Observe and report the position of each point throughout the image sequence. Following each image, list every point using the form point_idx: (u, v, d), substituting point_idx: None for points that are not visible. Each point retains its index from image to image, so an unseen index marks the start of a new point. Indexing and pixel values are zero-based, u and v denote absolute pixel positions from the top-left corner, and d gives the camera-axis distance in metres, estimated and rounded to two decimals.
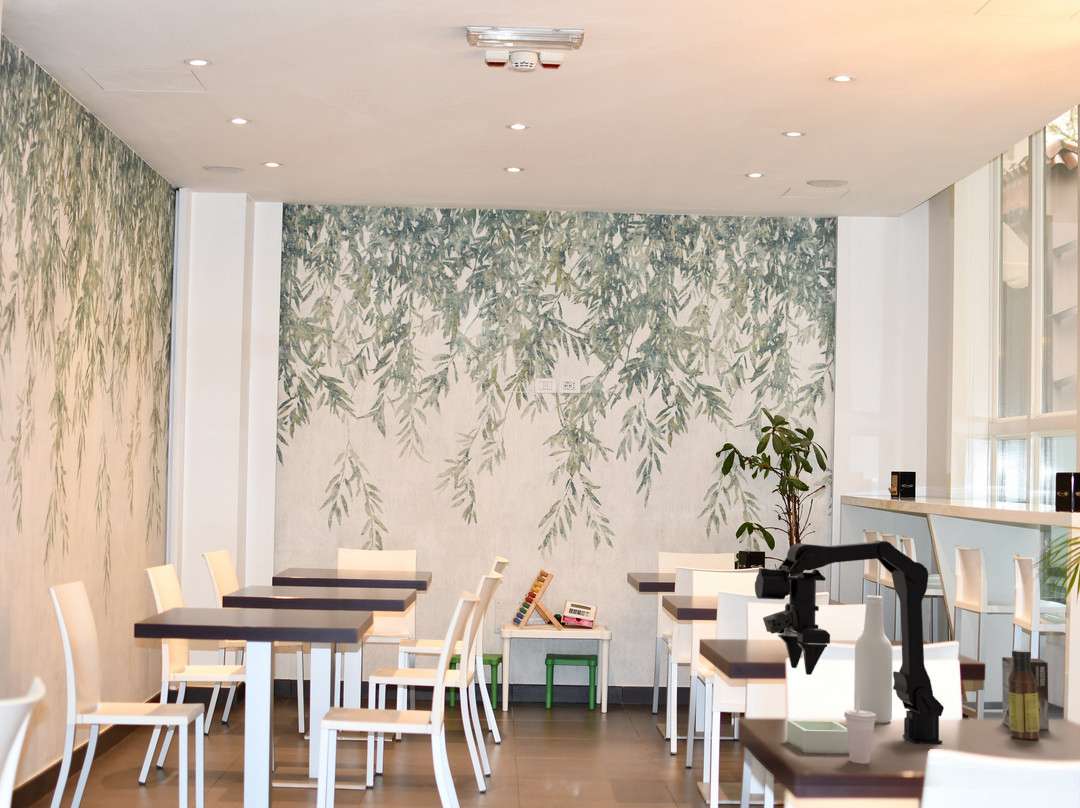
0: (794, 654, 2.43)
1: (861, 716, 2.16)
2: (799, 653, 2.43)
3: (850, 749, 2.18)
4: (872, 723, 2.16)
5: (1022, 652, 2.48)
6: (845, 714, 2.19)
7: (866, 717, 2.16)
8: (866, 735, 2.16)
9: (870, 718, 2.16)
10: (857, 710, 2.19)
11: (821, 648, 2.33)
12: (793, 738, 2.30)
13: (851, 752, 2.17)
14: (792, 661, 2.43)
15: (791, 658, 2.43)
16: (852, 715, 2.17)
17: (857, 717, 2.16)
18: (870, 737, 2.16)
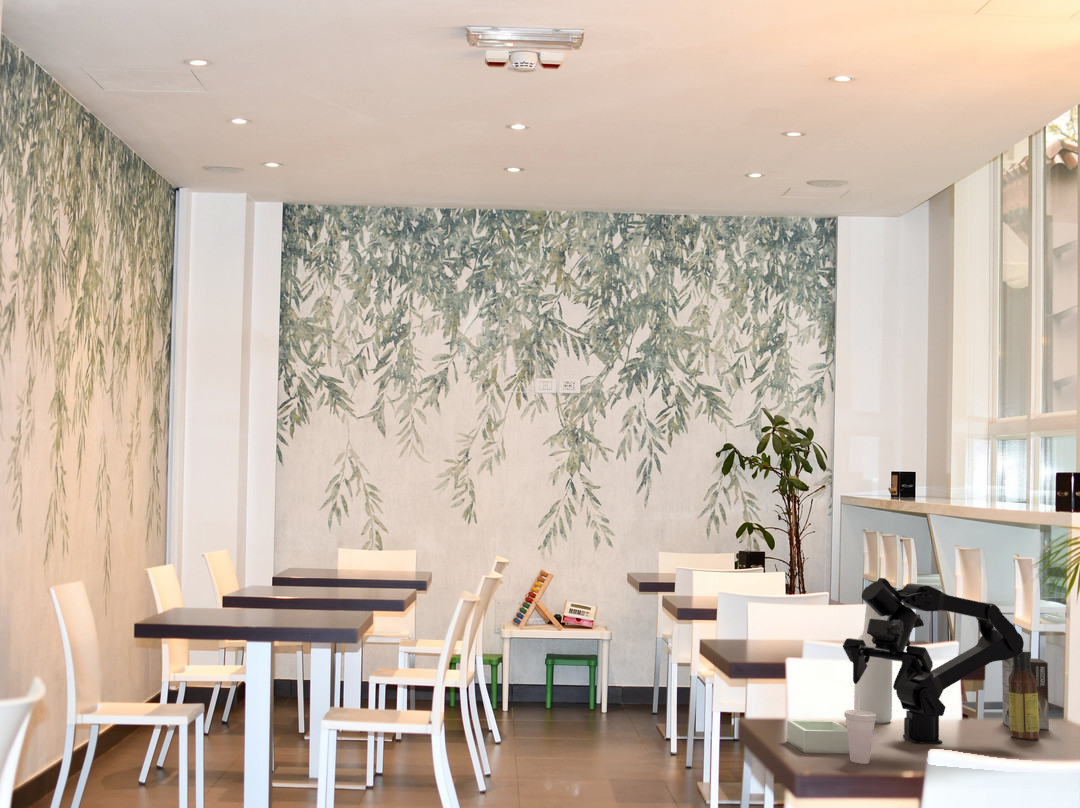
0: (858, 671, 2.35)
1: (861, 716, 2.16)
2: (861, 674, 2.36)
3: (850, 749, 2.18)
4: (872, 723, 2.16)
5: (1022, 652, 2.48)
6: (845, 714, 2.19)
7: (866, 717, 2.16)
8: (866, 735, 2.16)
9: (870, 718, 2.16)
10: (857, 710, 2.19)
11: (915, 674, 2.30)
12: (793, 738, 2.30)
13: (851, 752, 2.17)
14: (856, 676, 2.34)
15: (857, 673, 2.34)
16: (852, 715, 2.17)
17: (857, 717, 2.16)
18: (870, 737, 2.16)
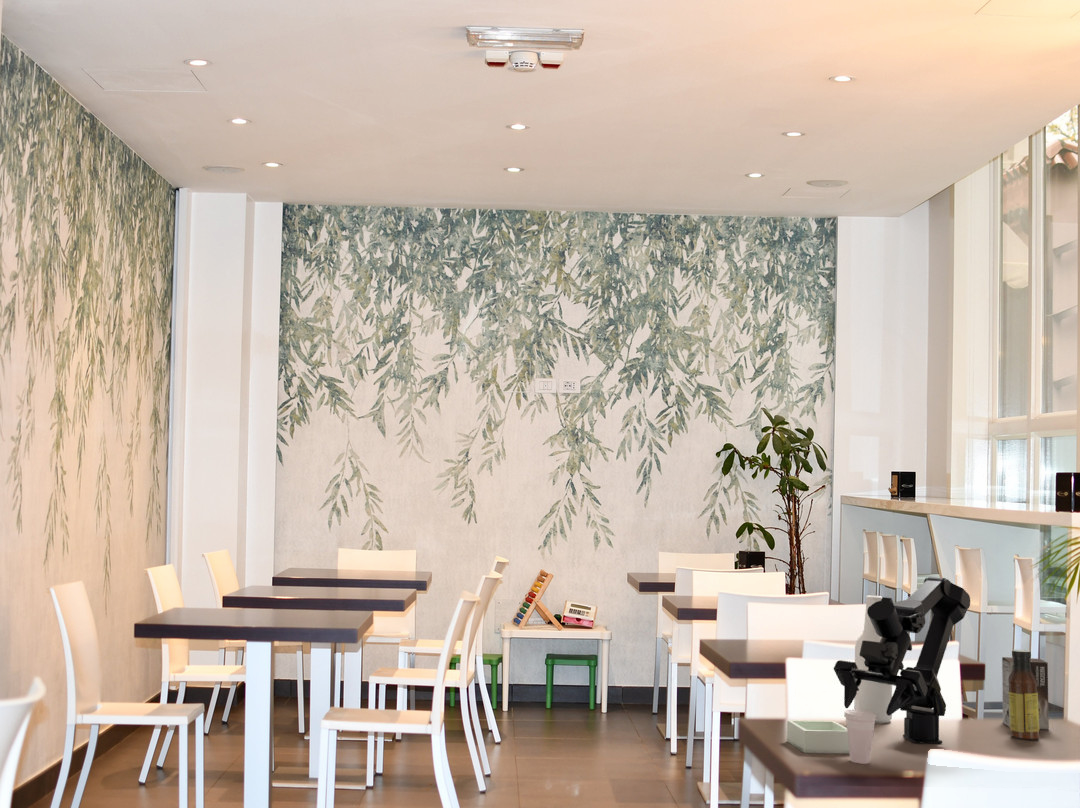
0: (849, 695, 2.26)
1: (861, 716, 2.16)
2: (852, 698, 2.26)
3: (850, 749, 2.18)
4: (872, 723, 2.16)
5: (1022, 652, 2.48)
6: (845, 714, 2.19)
7: (866, 717, 2.16)
8: (866, 735, 2.16)
9: (870, 718, 2.16)
10: (857, 710, 2.19)
11: (909, 699, 2.21)
12: (793, 738, 2.30)
13: (851, 752, 2.17)
14: (847, 700, 2.24)
15: (848, 697, 2.25)
16: (852, 715, 2.17)
17: (857, 717, 2.16)
18: (870, 737, 2.16)
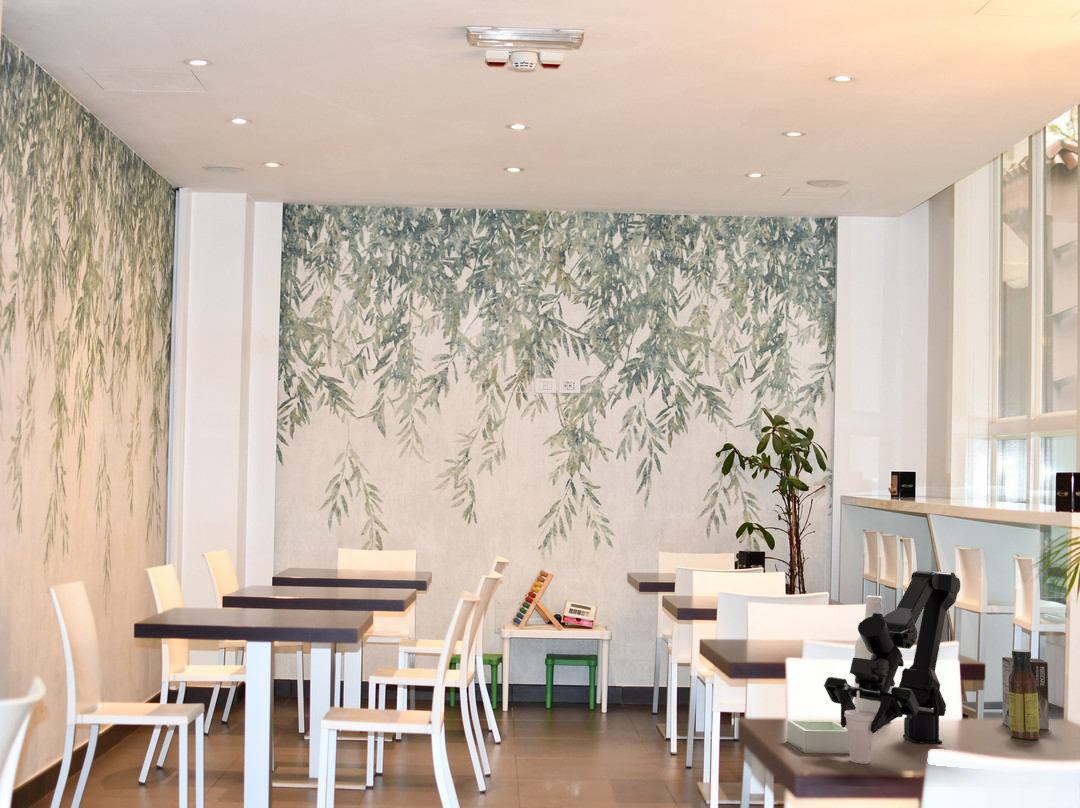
0: None
1: (861, 716, 2.16)
2: None
3: (850, 749, 2.18)
4: None
5: (1022, 652, 2.48)
6: (845, 714, 2.19)
7: (866, 717, 2.16)
8: (866, 735, 2.16)
9: (870, 718, 2.16)
10: (857, 710, 2.19)
11: (893, 716, 2.18)
12: (793, 738, 2.30)
13: (851, 752, 2.17)
14: (844, 719, 2.20)
15: None
16: (852, 715, 2.17)
17: (857, 717, 2.16)
18: (870, 737, 2.16)
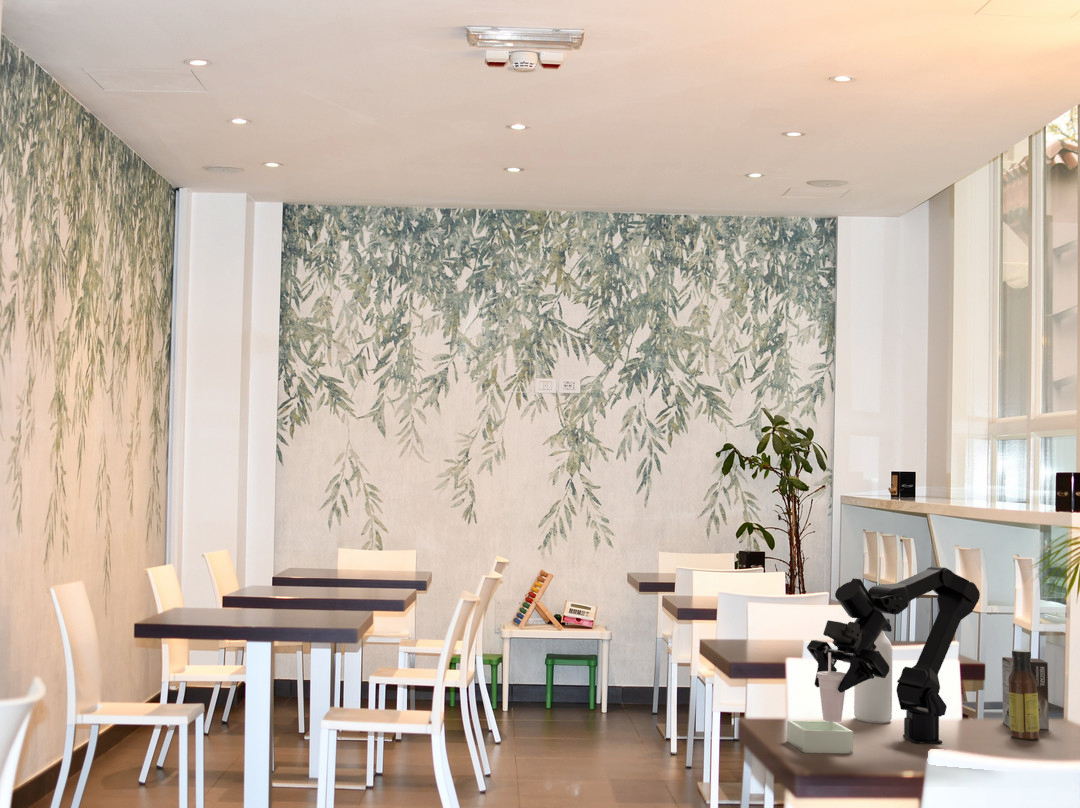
0: None
1: (829, 676, 2.24)
2: None
3: (822, 708, 2.26)
4: None
5: (1022, 652, 2.48)
6: None
7: (833, 677, 2.23)
8: (834, 694, 2.24)
9: (838, 678, 2.23)
10: (829, 671, 2.26)
11: (865, 677, 2.24)
12: (793, 738, 2.30)
13: (822, 711, 2.26)
14: None
15: None
16: (821, 675, 2.25)
17: (825, 677, 2.24)
18: (839, 697, 2.24)
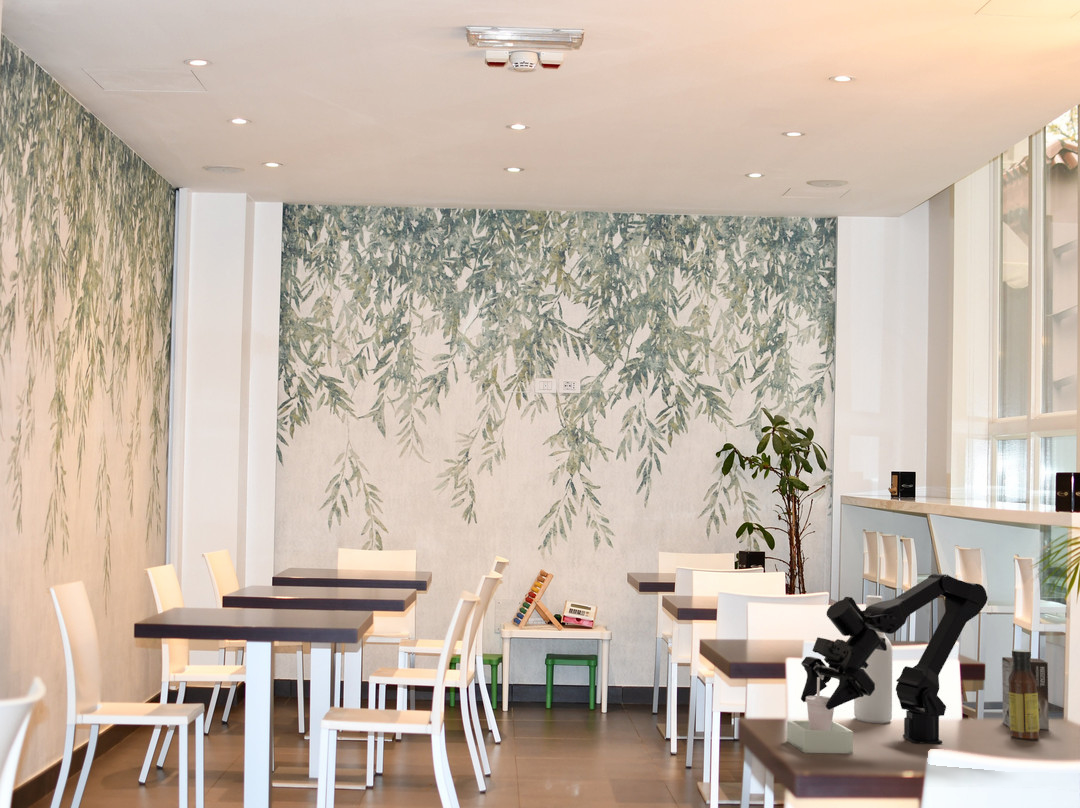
0: (810, 690, 2.35)
1: (815, 700, 2.28)
2: (814, 693, 2.35)
3: None
4: None
5: (1022, 652, 2.48)
6: (806, 698, 2.31)
7: (819, 702, 2.27)
8: (820, 718, 2.27)
9: (824, 703, 2.27)
10: (817, 695, 2.30)
11: (855, 695, 2.26)
12: (793, 738, 2.30)
13: None
14: (805, 694, 2.34)
15: (806, 691, 2.34)
16: (808, 699, 2.29)
17: (811, 701, 2.28)
18: (826, 721, 2.27)
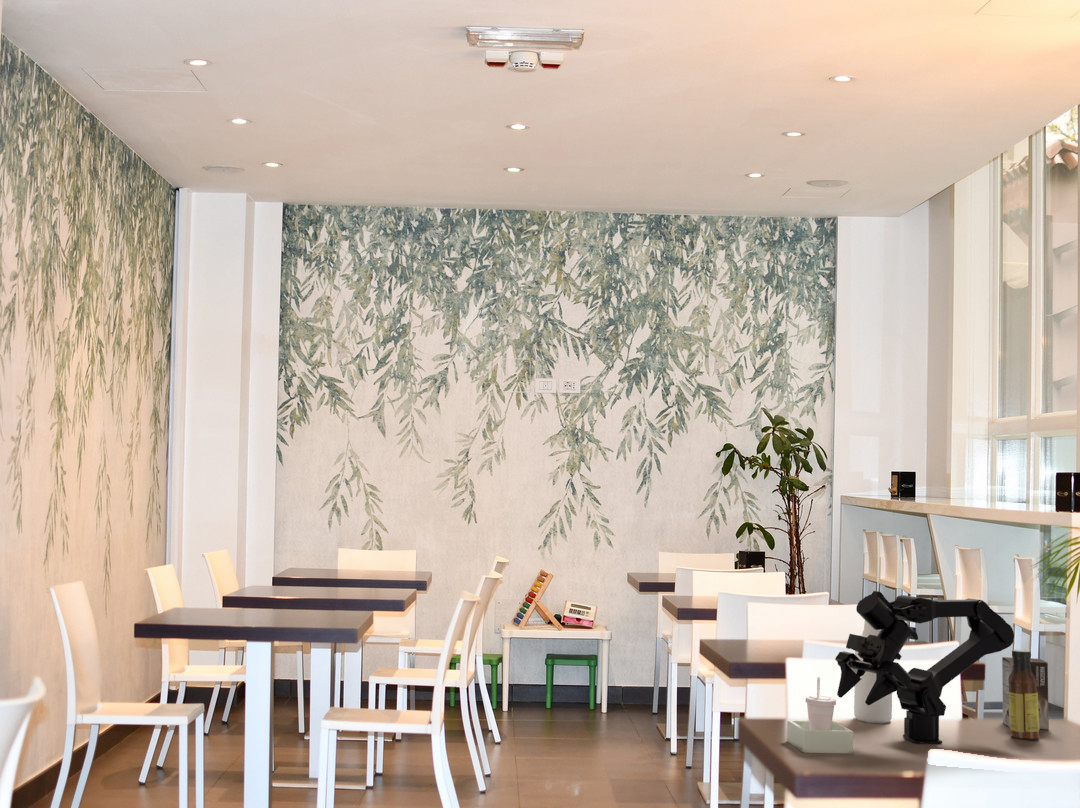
0: (845, 685, 2.39)
1: (815, 701, 2.28)
2: (849, 687, 2.39)
3: None
4: (827, 708, 2.27)
5: (1022, 652, 2.48)
6: (806, 698, 2.31)
7: (819, 702, 2.27)
8: (820, 719, 2.27)
9: (824, 703, 2.27)
10: (817, 695, 2.30)
11: (893, 689, 2.30)
12: (793, 738, 2.30)
13: None
14: (841, 690, 2.38)
15: (842, 686, 2.38)
16: (808, 699, 2.29)
17: (811, 701, 2.28)
18: (826, 722, 2.27)
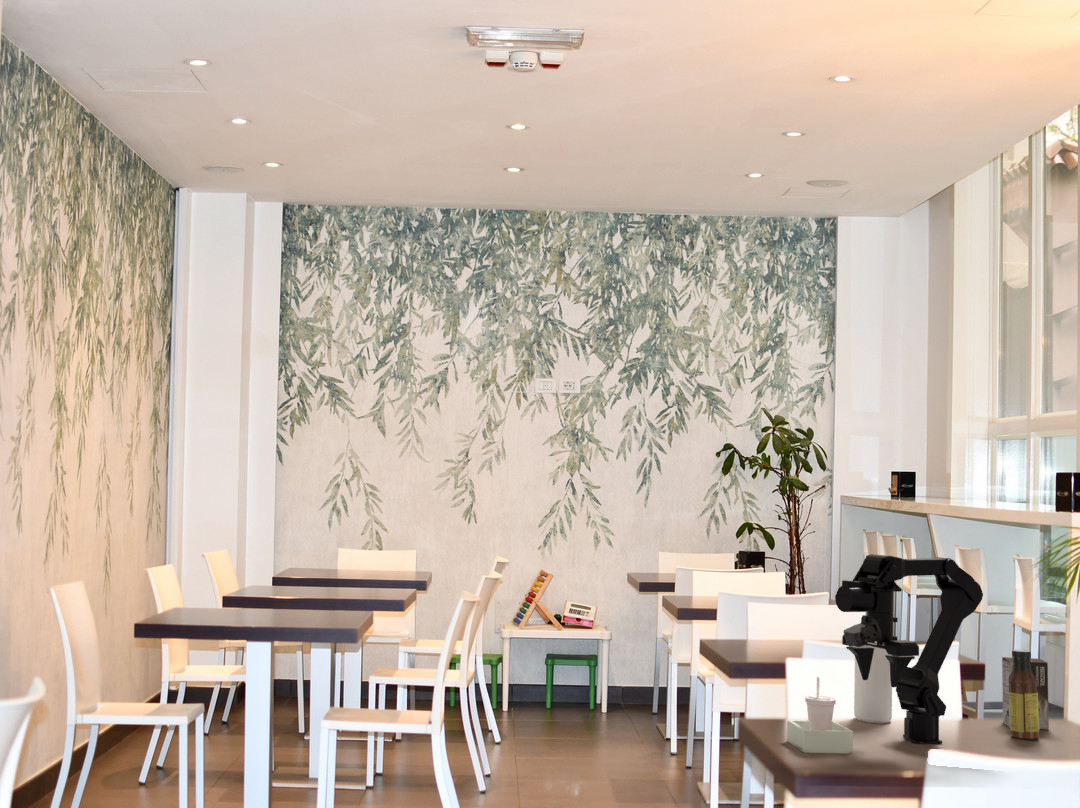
0: (864, 666, 2.41)
1: (814, 700, 2.28)
2: (869, 665, 2.41)
3: None
4: (827, 708, 2.28)
5: (1022, 652, 2.48)
6: None
7: (819, 701, 2.27)
8: (820, 718, 2.27)
9: (824, 703, 2.27)
10: (817, 695, 2.30)
11: (907, 660, 2.31)
12: (793, 738, 2.30)
13: None
14: (864, 673, 2.40)
15: (863, 670, 2.40)
16: (808, 699, 2.29)
17: (811, 701, 2.28)
18: (826, 721, 2.28)
